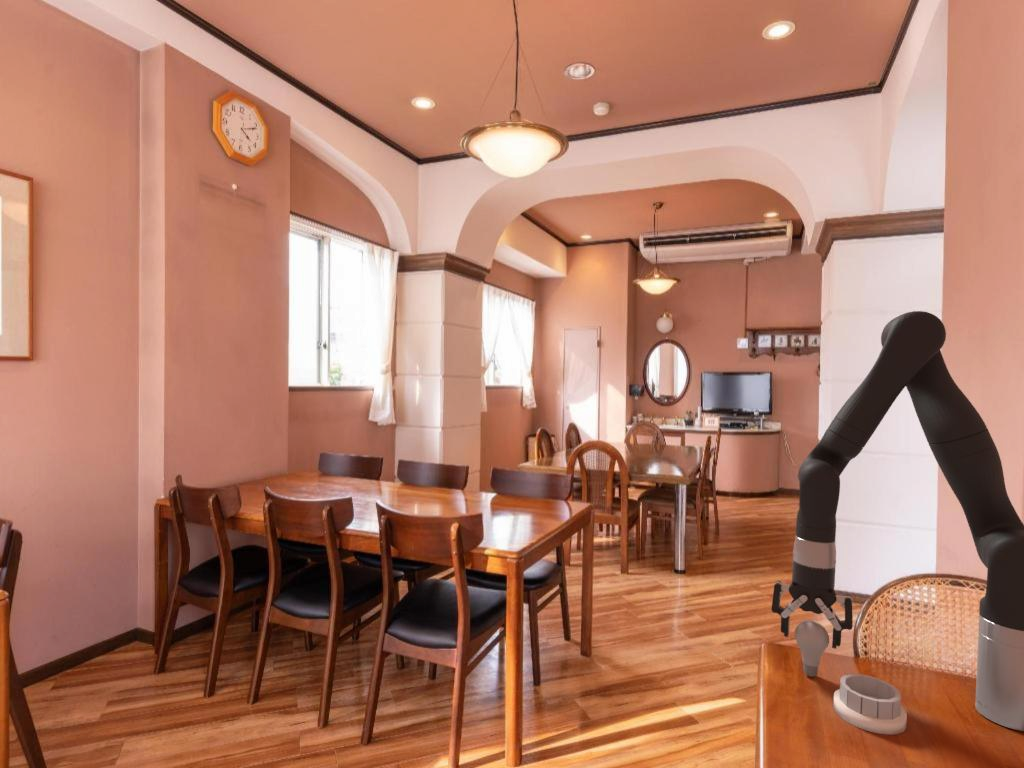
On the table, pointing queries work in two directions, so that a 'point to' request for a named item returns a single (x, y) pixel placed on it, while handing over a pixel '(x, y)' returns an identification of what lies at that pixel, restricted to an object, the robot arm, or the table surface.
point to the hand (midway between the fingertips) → (809, 640)
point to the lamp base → (870, 721)
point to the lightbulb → (811, 644)
